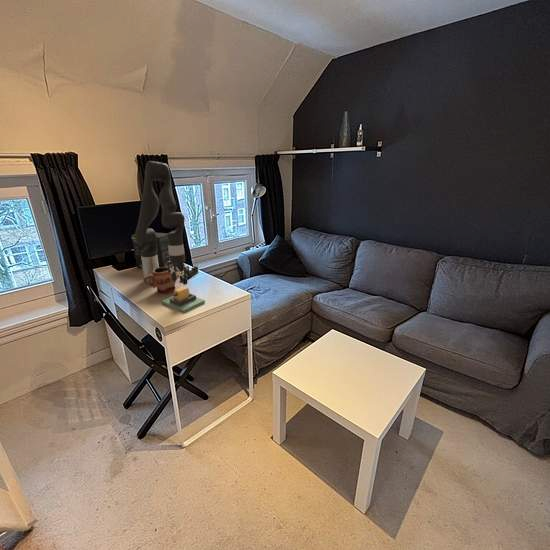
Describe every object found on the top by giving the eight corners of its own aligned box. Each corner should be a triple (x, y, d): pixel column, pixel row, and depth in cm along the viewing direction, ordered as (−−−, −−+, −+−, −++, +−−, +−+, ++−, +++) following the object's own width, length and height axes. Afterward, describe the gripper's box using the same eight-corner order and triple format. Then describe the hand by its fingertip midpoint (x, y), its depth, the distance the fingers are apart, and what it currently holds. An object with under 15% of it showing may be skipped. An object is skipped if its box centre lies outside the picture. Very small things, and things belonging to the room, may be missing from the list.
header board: (161, 303, 159) (161, 297, 158) (182, 294, 170) (182, 288, 169) (184, 312, 150) (183, 306, 148) (204, 302, 160) (204, 296, 159)
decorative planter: (150, 300, 163) (146, 276, 158) (142, 292, 171) (138, 270, 166) (184, 290, 175) (182, 268, 170) (175, 284, 183) (173, 262, 178)
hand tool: (184, 281, 188) (184, 275, 186) (179, 281, 189) (178, 274, 187) (201, 272, 204) (201, 265, 203) (196, 271, 205) (196, 265, 204)
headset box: (136, 268, 210) (130, 232, 201) (147, 262, 221) (142, 228, 211) (163, 271, 204) (158, 234, 195) (173, 266, 215) (169, 230, 205)
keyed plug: (172, 303, 156) (170, 291, 153) (185, 297, 163) (184, 285, 160) (177, 305, 154) (175, 293, 151) (190, 299, 161) (189, 287, 158)
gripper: (192, 253, 148) (194, 283, 154) (173, 248, 155) (176, 277, 161) (179, 257, 142) (182, 288, 148) (161, 251, 150) (165, 281, 156)
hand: (179, 282), depth 155 cm, fingers open, 8 cm apart
